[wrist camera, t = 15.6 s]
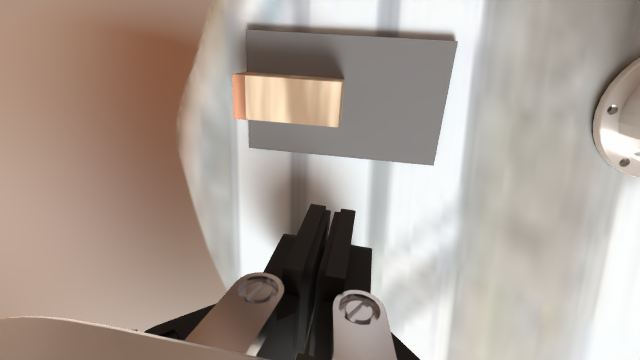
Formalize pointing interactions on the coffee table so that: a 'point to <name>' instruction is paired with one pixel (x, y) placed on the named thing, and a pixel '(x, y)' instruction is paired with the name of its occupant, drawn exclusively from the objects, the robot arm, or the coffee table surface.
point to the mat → (360, 93)
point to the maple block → (288, 98)
